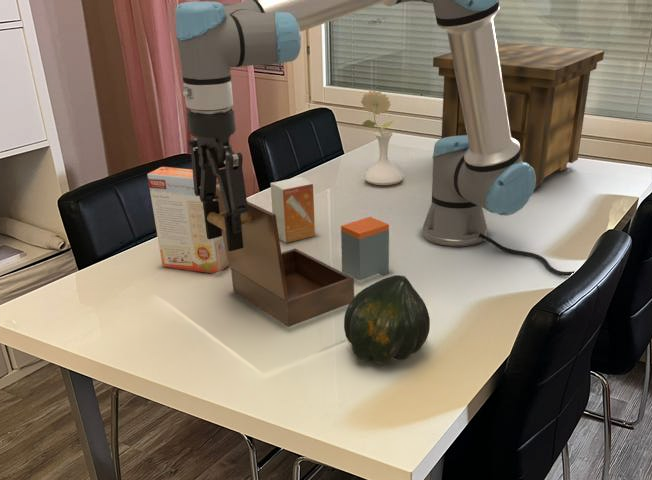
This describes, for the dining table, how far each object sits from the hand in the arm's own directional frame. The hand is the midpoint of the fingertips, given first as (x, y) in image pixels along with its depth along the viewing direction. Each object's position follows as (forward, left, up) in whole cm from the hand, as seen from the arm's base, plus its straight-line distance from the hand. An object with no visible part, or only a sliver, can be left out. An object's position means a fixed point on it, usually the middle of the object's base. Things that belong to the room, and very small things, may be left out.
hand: (225, 242), depth 128 cm
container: (-16, -28, -16) cm, 36 cm away
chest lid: (-3, -5, -1) cm, 6 cm away
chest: (-7, -12, -16) cm, 21 cm away
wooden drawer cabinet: (-32, -111, -16) cm, 116 cm away
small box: (+7, -43, -16) cm, 46 cm away
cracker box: (+20, -20, -16) cm, 33 cm away
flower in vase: (+1, -89, -16) cm, 90 cm away
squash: (-31, +1, -16) cm, 35 cm away
